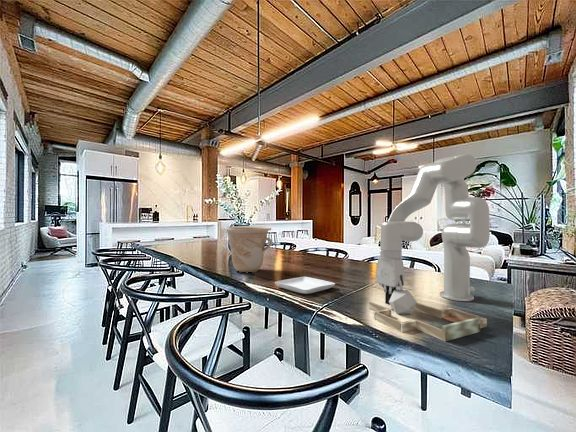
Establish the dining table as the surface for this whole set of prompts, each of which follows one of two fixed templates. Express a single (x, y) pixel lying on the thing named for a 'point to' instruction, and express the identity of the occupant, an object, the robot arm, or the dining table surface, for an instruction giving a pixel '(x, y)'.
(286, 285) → the salad plate
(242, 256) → the vessel
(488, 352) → the dining table surface
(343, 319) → the dining table surface
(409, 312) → the die
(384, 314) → the channel
